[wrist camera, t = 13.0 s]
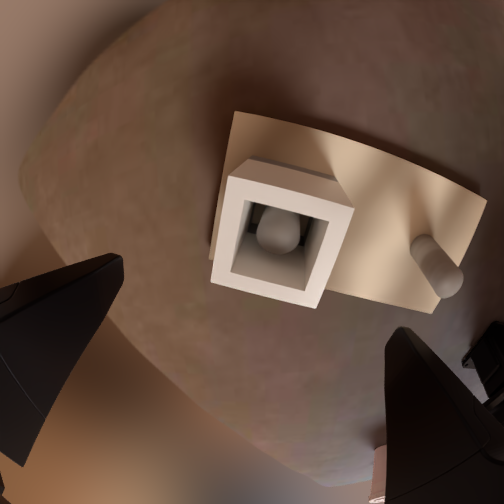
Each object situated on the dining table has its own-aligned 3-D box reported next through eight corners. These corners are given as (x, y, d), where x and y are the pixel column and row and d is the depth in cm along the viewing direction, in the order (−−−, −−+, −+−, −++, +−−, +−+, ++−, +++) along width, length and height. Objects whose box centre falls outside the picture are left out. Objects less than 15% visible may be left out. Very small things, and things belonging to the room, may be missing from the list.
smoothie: (372, 443, 31) (375, 522, 19) (409, 437, 30) (417, 512, 18) (362, 456, 34) (362, 526, 22) (396, 452, 33) (400, 519, 21)
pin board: (480, 196, 15) (523, 225, 10) (427, 306, 19) (450, 353, 15) (238, 111, 15) (212, 108, 11) (212, 252, 20) (186, 296, 15)
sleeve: (335, 176, 15) (354, 208, 10) (311, 250, 18) (315, 308, 13) (252, 155, 16) (228, 175, 10) (236, 230, 18) (210, 282, 13)
